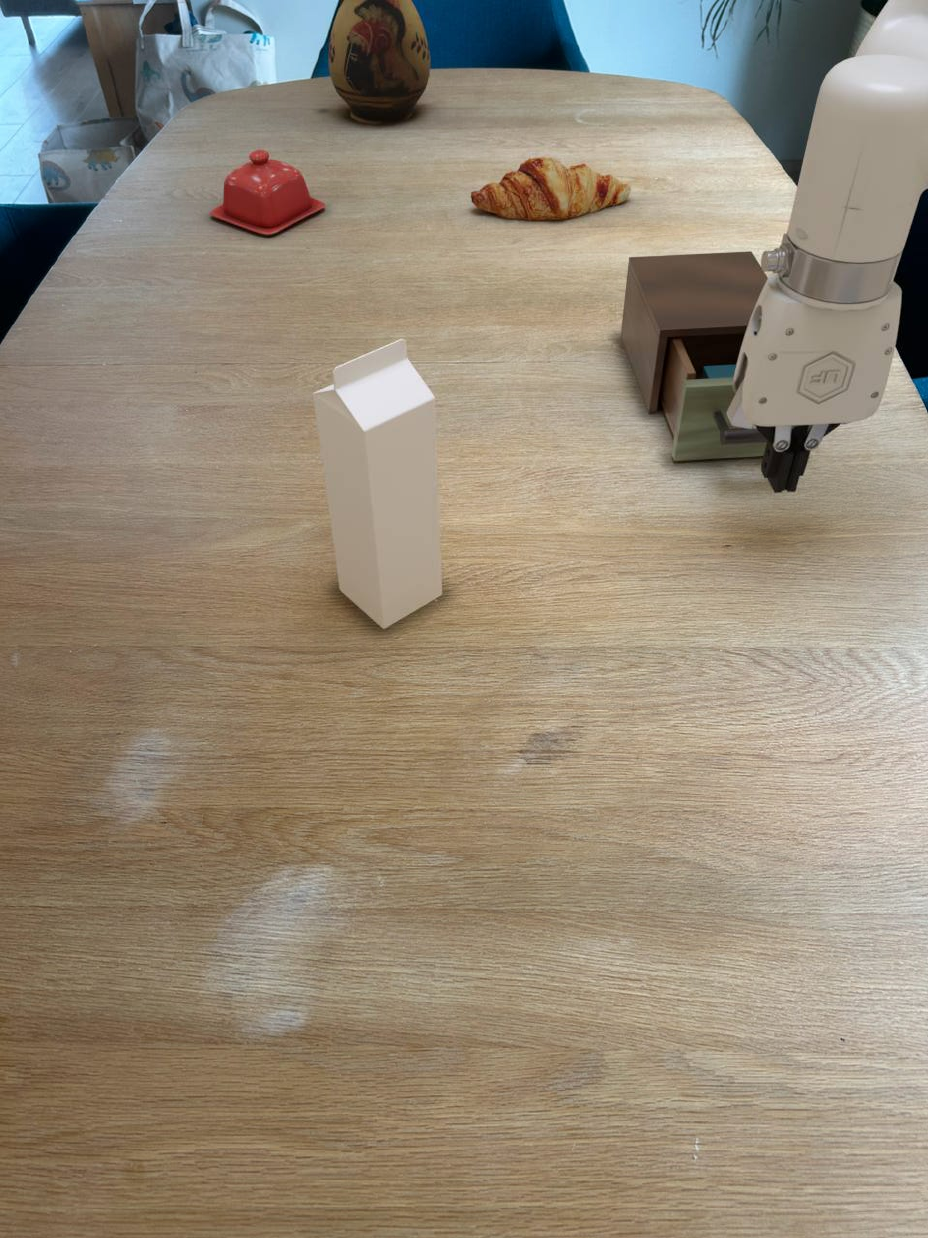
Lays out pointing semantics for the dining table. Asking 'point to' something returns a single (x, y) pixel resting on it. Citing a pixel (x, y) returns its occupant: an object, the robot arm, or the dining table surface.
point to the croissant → (550, 191)
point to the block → (718, 371)
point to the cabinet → (683, 307)
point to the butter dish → (265, 196)
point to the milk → (382, 482)
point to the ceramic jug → (379, 59)
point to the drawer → (704, 400)
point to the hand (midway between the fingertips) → (779, 481)
